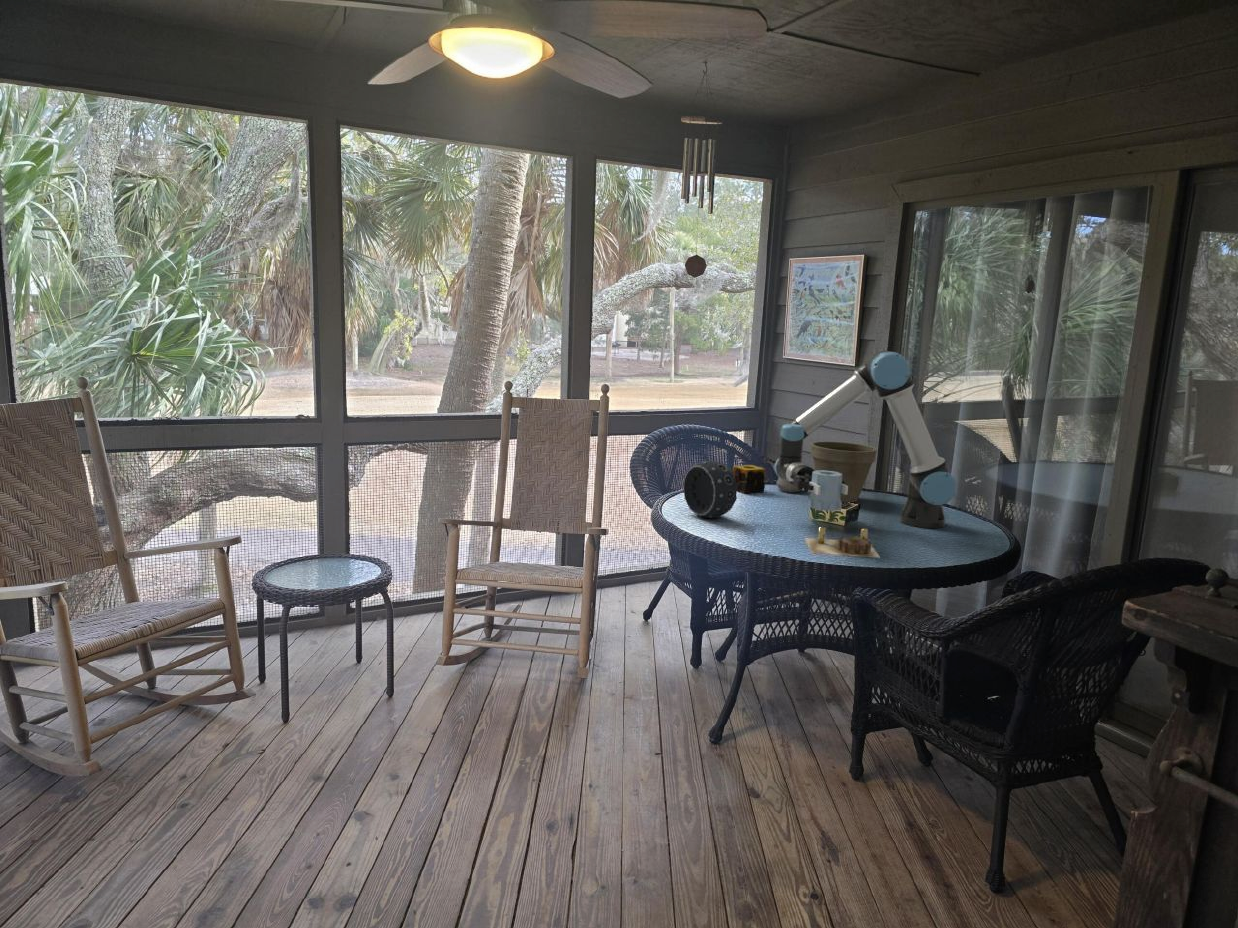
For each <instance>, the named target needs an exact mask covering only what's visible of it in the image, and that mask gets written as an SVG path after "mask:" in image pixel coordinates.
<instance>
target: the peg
mask: <svg viewBox="0 0 1238 928" xmlns="http://www.w3.org/2000/svg"><path fill="white" fill-rule="evenodd" d="M826 529H827V528H826V526H819V527H818V534H817V535H818V536H817V537H818V538H817V539H818V543H819V544H824V543H825V539H826V532H827V531H826Z"/></svg>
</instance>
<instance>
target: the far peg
mask: <svg viewBox="0 0 1238 928" xmlns="http://www.w3.org/2000/svg"><path fill="white" fill-rule="evenodd" d="M868 535H869V529H868V528H863V527H862V528H860V537H859V539H866V540H868Z"/></svg>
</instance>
